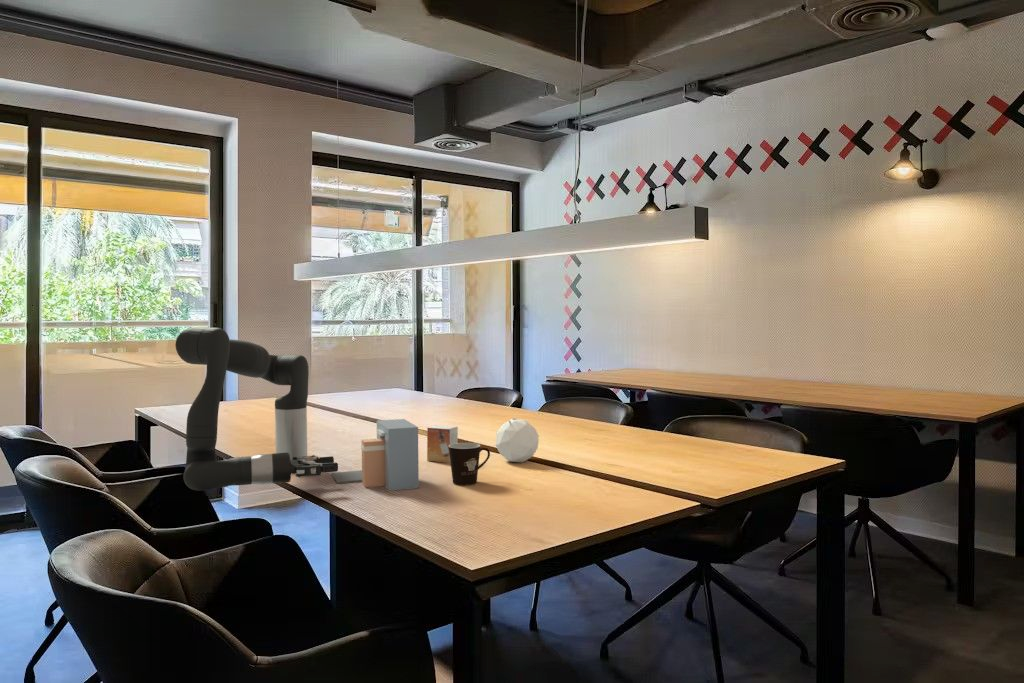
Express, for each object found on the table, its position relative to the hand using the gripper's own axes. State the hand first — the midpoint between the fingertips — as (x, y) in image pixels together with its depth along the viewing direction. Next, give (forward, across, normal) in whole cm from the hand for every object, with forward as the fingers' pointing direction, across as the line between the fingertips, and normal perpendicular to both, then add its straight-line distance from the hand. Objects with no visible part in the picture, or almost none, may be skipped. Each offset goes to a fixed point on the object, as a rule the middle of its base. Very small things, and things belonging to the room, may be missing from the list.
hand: (335, 463), depth 189 cm
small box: (+36, +24, +7) cm, 43 cm away
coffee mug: (+35, -7, +7) cm, 36 cm away
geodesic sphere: (+57, +14, +7) cm, 59 cm away
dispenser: (+16, 0, +6) cm, 17 cm away
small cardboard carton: (+10, 0, +7) cm, 12 cm away
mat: (+7, +11, +6) cm, 14 cm away
